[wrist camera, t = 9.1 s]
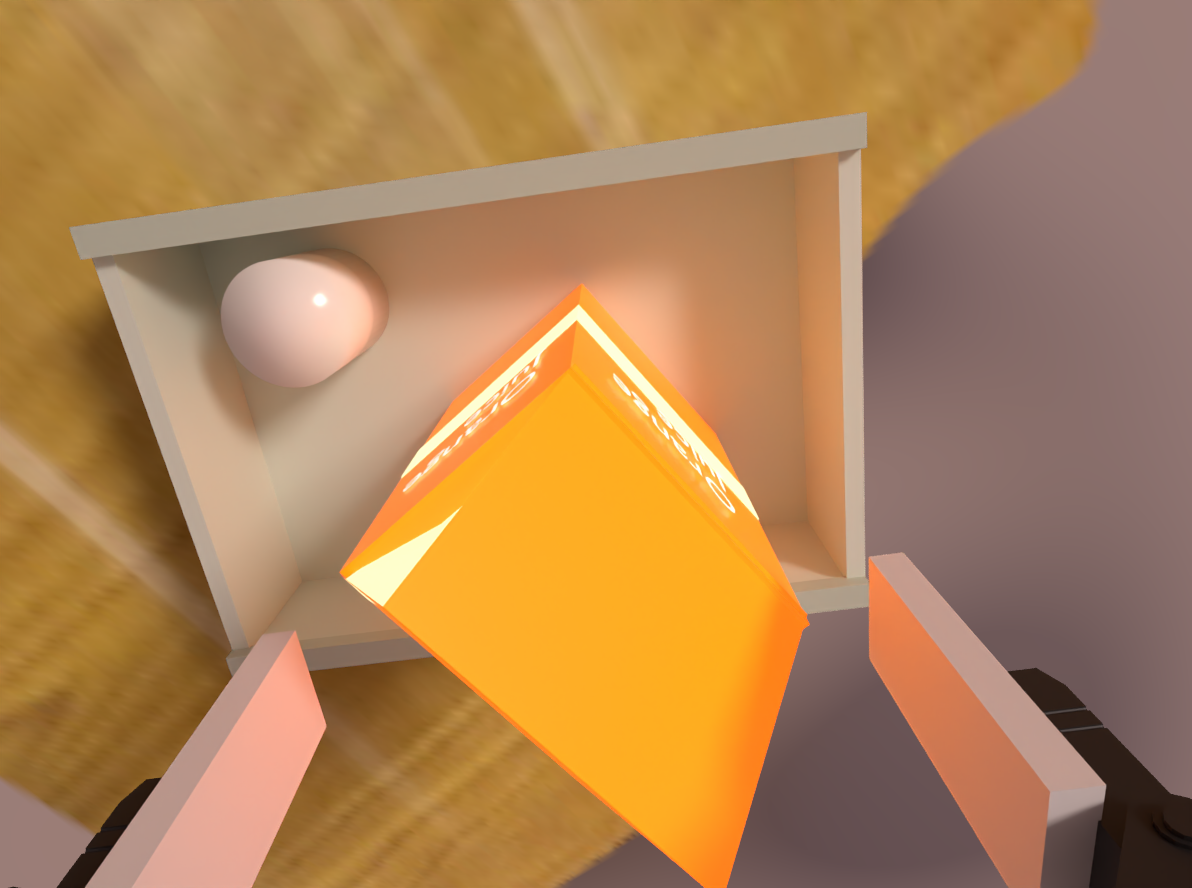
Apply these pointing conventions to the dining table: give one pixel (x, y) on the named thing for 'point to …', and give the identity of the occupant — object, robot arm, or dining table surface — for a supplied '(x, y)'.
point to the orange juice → (597, 581)
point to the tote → (489, 330)
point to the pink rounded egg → (304, 315)
